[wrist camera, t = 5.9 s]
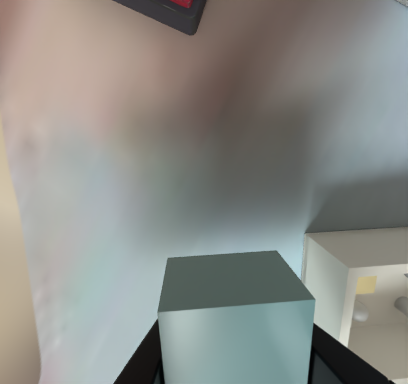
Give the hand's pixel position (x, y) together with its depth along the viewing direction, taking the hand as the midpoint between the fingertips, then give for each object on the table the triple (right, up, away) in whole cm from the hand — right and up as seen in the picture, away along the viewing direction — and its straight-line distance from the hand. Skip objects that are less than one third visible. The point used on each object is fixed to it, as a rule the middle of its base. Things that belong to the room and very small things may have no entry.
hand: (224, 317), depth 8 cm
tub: (+17, -5, +15) cm, 23 cm away
